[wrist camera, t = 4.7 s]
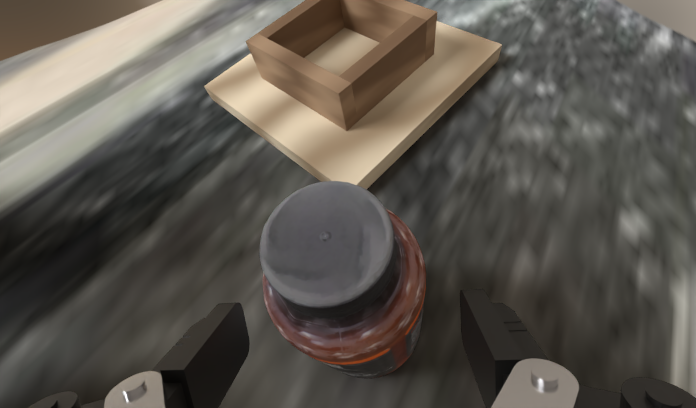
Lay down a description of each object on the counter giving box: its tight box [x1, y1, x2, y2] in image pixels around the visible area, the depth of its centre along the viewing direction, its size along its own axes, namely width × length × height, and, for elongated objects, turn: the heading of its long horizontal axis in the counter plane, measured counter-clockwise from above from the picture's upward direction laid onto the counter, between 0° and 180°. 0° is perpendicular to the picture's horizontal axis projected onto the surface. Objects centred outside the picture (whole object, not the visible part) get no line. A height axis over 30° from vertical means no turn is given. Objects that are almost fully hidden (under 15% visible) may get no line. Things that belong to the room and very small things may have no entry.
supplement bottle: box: [259, 181, 426, 378], centre depth 14 cm, size 6×6×11 cm
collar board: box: [204, 0, 502, 190], centre depth 28 cm, size 18×18×5 cm
